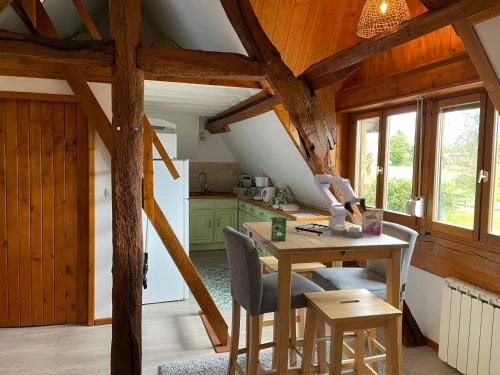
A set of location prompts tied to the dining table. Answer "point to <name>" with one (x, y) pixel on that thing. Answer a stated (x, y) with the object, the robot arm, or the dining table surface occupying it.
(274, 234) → the coffee box
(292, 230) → the dining table surface
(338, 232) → the key panel
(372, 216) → the candy bar box
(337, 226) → the cream key
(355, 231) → the light gray key
